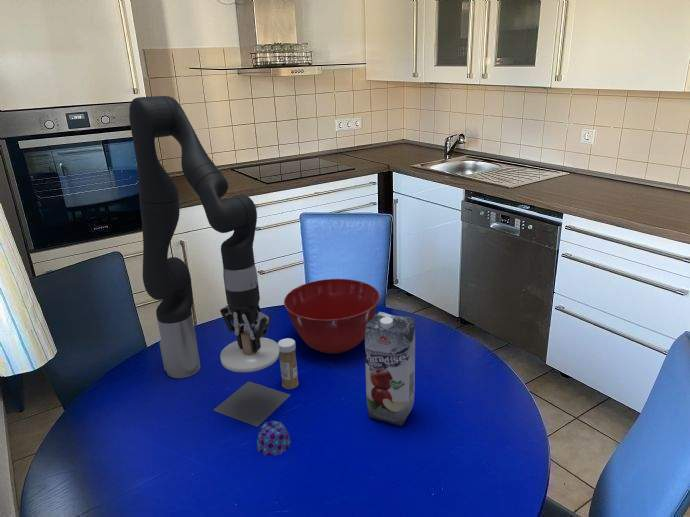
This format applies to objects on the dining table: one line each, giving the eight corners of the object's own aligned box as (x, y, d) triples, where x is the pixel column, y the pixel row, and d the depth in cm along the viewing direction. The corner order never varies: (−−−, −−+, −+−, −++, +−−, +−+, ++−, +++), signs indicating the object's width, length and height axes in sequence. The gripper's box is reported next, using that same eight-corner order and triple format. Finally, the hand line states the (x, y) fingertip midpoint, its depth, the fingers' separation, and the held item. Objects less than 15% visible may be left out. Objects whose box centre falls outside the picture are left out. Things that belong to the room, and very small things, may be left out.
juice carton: (377, 398, 136) (376, 303, 126) (417, 409, 132) (418, 311, 122) (363, 419, 129) (360, 320, 119) (404, 431, 124) (404, 328, 114)
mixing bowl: (268, 350, 160) (263, 304, 155) (325, 313, 182) (322, 271, 176) (345, 378, 145) (343, 328, 139) (397, 334, 167) (397, 289, 161)
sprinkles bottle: (301, 386, 142) (298, 342, 137) (286, 392, 140) (282, 348, 135) (293, 378, 146) (290, 335, 141) (278, 384, 144) (274, 341, 139)
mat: (213, 412, 133) (212, 410, 133) (248, 383, 145) (248, 381, 145) (257, 428, 127) (257, 426, 127) (291, 396, 138) (290, 394, 138)
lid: (208, 363, 126) (204, 340, 124) (245, 336, 137) (243, 315, 135) (255, 377, 119) (252, 353, 117) (291, 348, 131) (288, 325, 128)
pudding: (311, 442, 122) (309, 424, 120) (273, 474, 114) (271, 454, 112) (274, 422, 129) (272, 404, 127) (236, 450, 121) (233, 432, 119)
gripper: (206, 284, 122) (216, 350, 128) (255, 294, 115) (264, 363, 121) (228, 272, 128) (236, 336, 134) (276, 281, 121) (282, 348, 127)
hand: (249, 348), depth 127 cm, fingers closed on lid, 3 cm apart
